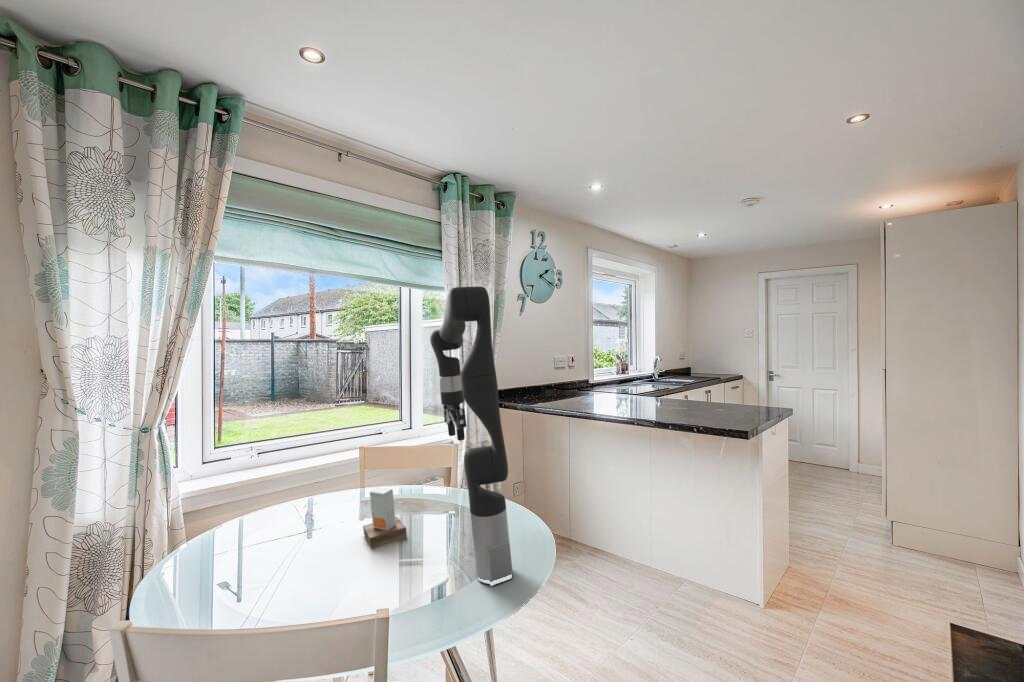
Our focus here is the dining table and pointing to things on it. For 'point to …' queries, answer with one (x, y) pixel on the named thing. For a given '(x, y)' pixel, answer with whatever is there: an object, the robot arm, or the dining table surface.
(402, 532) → the walnut block
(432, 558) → the dining table surface
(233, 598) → the dining table surface
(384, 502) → the skincare box
